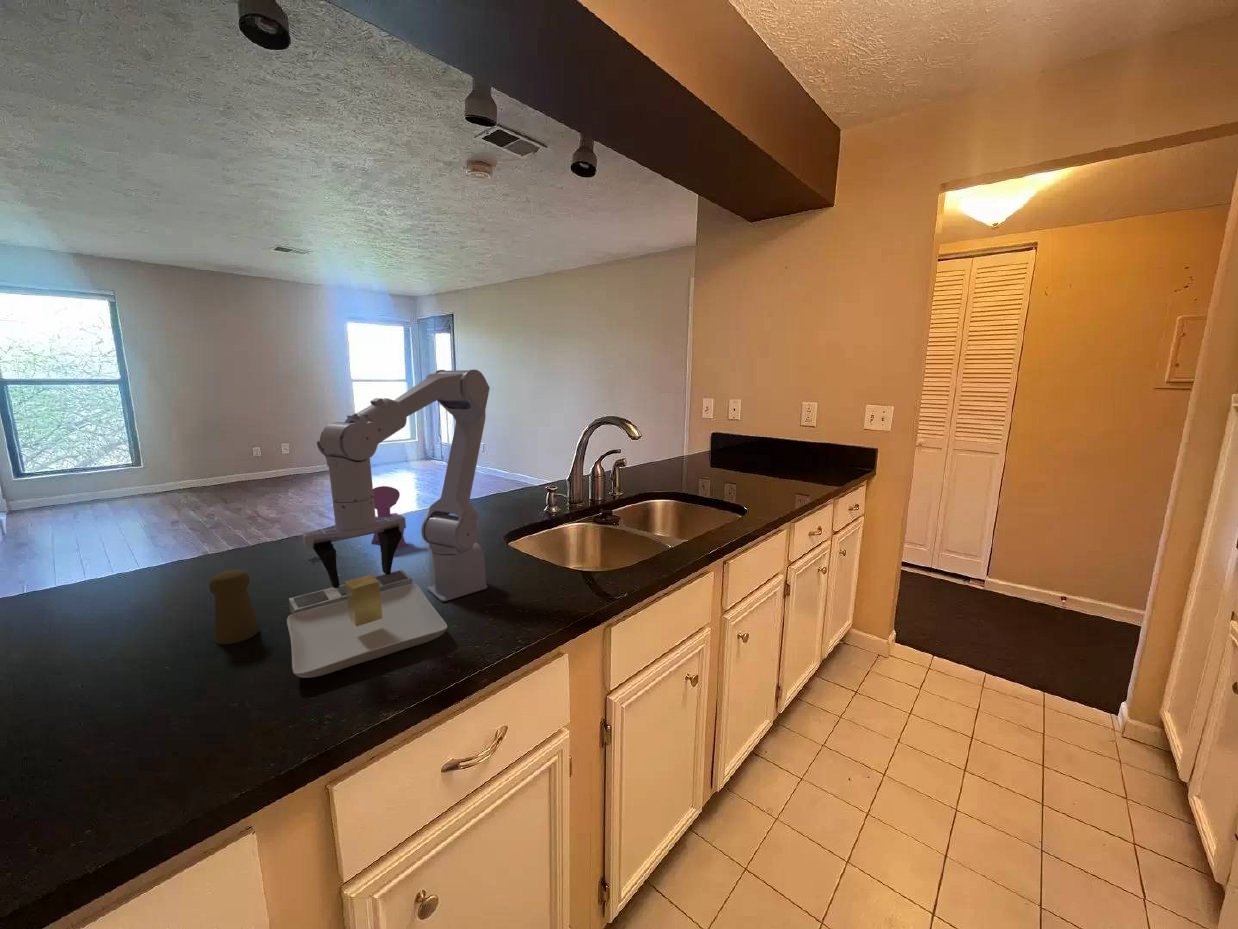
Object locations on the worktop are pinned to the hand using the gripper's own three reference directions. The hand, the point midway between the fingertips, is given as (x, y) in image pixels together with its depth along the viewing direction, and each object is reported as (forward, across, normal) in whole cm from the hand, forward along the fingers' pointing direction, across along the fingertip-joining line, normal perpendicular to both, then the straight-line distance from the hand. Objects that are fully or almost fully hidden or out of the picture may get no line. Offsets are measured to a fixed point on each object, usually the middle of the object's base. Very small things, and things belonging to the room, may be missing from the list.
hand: (361, 579), depth 79 cm
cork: (+10, +16, -15) cm, 24 cm away
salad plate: (+11, 0, 0) cm, 11 cm away
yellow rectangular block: (+7, 0, 0) cm, 7 cm away
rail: (+10, -2, -16) cm, 19 cm away
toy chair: (+10, -17, -44) cm, 48 cm away
